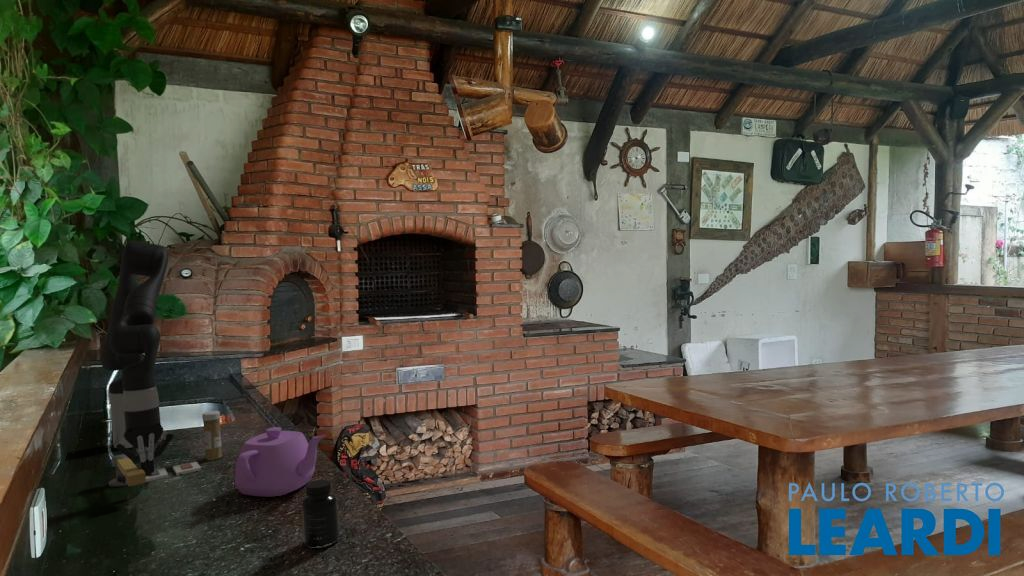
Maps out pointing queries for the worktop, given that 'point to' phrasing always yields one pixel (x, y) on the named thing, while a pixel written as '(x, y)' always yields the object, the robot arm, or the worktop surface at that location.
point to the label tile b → (186, 468)
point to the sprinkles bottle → (212, 435)
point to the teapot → (275, 463)
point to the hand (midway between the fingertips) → (147, 475)
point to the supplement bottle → (320, 514)
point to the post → (118, 479)
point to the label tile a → (157, 475)
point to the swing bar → (129, 470)
